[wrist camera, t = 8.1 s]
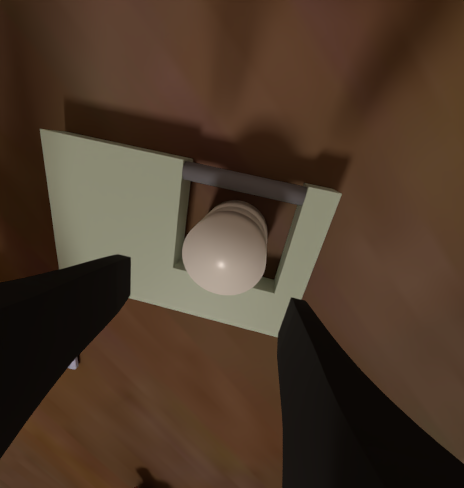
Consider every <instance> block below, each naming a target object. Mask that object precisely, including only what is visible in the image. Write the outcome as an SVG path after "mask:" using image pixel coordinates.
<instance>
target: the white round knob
mask: <svg viewBox="0 0 464 488" xmlns="http://www.w3.org/2000/svg"><path fill="white" fill-rule="evenodd" d="M267 234H268V230H267V224H266V221H265V219H264V217H263V215H262V214H261V212H260V211H259V210H258V209H257V208H256V207H254V206H253V205H251V204H249V203H247V202H244V201H240V200H229V201H225V202H222V203H220V204H218V205H217V206H215V207H214V208H213V209H212V210H211V211H210V212H209V213H208V214H207V215H206V216H205V217H204V218H203V219H202V220H201V221H200V222H199V223H198V224H197V225H196V226H195V227H194V228H193V229H191V231H190V232H189V233H188V234H187V236H186V238H185V240H184V243H183V247H182V259H183V263H184V266H185V269H186V271H187V273H188V274H189V276H190V277H191V278H192V279H193V281H194V282H195V283H197V284H198V285H199V286H200V287H202V288H203V289H205V290H207V291H209V292H212V293H215V294H219V295H237V294H241V293H244V292H246V291H248V290H250V289H251V288H253V287H254V286H255V285H256V284H257V283H258V282H259V281H260V279H261V277H262V276H263V273H264V271H265V267H266V256H267Z"/></svg>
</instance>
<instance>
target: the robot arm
mask: <svg viewBox="0 0 464 488" xmlns="http://www.w3.org/2000/svg"><path fill="white" fill-rule="evenodd" d="M130 294H131V257H128V256H124V255H120V254H116V255H111V256H107V257H103V258H99V259H95V260H92V261H88V262H85V263H81V264H78V265H74V266H70V267H67V268H63V269H59V270H55V271H51V272H47V273H43V274H39V275H35V276H31V277H26V278H22V279H17V280H12V281H7V282H1V283H0V458H1V457H2V455H3V454H4V453H5V451H6V450H7V448H8V447H9V446H10V444H11V443H12V441H13V440H14V438H15V437H16V436H17V434H18V433H19V431H20V430H21V429H22V427H23V426H24V424H25V423H26V421H27V420H28V419H29V417H30V416H31V415H32V413H33V412H34V411H35V409H36V408H37V407H38V405H39V404H40V403H41V401H42V400H43V399H44V397H45V396H46V395H47V393H48V392H49V391H50V389H51V388H52V387H53V386H54V384H55V383H56V382H57V380H58V379H59V378H60V377H61V375H62V374H63V373H64V372H65V370H66V369H67V368H70V369H76V368H77V367H78V358H77V356H78V355H79V354H80V353H81V352H82V351H83V350H84V349H85V348H86V347H87V346H88V345H89V343H90V342H91V341H92V340H93V339H94V338H95V337H96V336H97V335H98V334H99V333H100V332H101V331H102V330H103V329H104V327H105V326H106V325H107V324H108V323H109V322H110V321H111V320H112V319H113V318H114V317H115V315H116V314H117V313H118V312H119V311H120V309H121V308H122V306H123V305H124V304H125V302H126V301H127V299H128V298H129V296H130ZM277 360H278V372H279V384H280V396H281V407H282V422H283V482H282V488H464V464H463V463H462V462H461V461H459V460H458V459H457V458H456V457H455V456H453V455H452V454H451V453H450V452H449V451H447V450H446V449H445V448H444V447H443V446H441V445H440V444H439V443H438V442H437V441H435V440H434V439H433V438H432V437H431V436H430V435H428V434H427V433H426V432H425V431H424V430H423V429H422V428H420V427H419V426H418V425H417V424H416V423H415V422H414V421H413V420H412V419H410V418H409V417H408V416H407V415H406V414H405V413H404V412H403V411H402V410H401V409H400V408H398V407H397V406H396V405H395V404H394V403H393V402H392V401H391V400H390V399H389V398H388V397H387V396H386V395H385V394H384V393H383V392H382V391H381V390H380V389H379V388H378V387H377V386H376V385H375V384H374V383H373V382H372V381H371V380H370V379H369V378H368V377H367V376H366V375H365V374H364V373H363V372H362V371H361V370H360V368H359V367H358V366H357V365H356V364H355V363H354V362H353V361H352V359H351V358H350V357H349V356H348V355H347V354H346V352H345V351H344V350H343V349H342V348H341V347H340V345H339V344H338V343H337V342H336V340H335V339H334V338H333V337H332V335H331V334H330V333H329V331H328V330H327V329H326V327H325V326H324V325H323V323H322V322H321V321H320V319H319V318H318V317H317V315H316V314H315V313H314V311H313V310H312V309H311V307H310V306H309V305H308V303H307V302H306V301H304V300H300V299H296V298H292V297H291V299H290V302H289V305H288V307H287V310H286V313H285V316H284V318H283V321H282V324H281V327H280V330H279V332H278V347H277Z"/></svg>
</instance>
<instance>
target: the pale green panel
mask: <svg viewBox="0 0 464 488" xmlns="http://www.w3.org/2000/svg"><path fill="white" fill-rule="evenodd" d="M40 135H41V142H42V149H43V157H44V164H45V171H46V178H47V186H48V193H49V200H50V207H51V215H52V222H53V229H54V236H55V244H56V251H57V258H58V265H59V269H63V268H67V267H70V266H74V265H78V264H81V263H85V262H88V261H92V260H95V259H99V258H103V257H107V256H111V255H116V254H120V255H124V256H128V257H131V294H130V296H129V298H131V299H135V300H139V301H143V302H146V303H150V304H154V305H158V306H162V307H165V308H169V309H173V310H177V311H180V312H184V313H188V314H192V315H195V316H199V317H203V318H207V319H211V320H214V321H218V322H222V323H226V324H229V325H233V326H237V327H241V328H245V329H248V330H252V331H256V332H260V333H263V334H267V335H271V336H275V337H278V332H279V330H280V327H281V324H282V321H283V318H284V316H285V313H286V310H287V307H288V305H289V302H290V299H291V297H292V298H296V299H300V300H301V299H302V296H303V294H304V291H305V288H306V286H307V283H308V281H309V278H310V275H311V273H312V270H313V268H314V265H315V262H316V260H317V257H318V255H319V252H320V249H321V247H322V244H323V242H324V239H325V236H326V234H327V231H328V229H329V226H330V223H331V221H332V218H333V216H334V213H335V210H336V208H337V205H338V203H339V200H340V197H341V195H342V194H341V193H339V192H338V191H336V190H334V189H331V188H326V187H322V186H317V185H312V184H308V183H304V185H303V186H300V185H295V184H291V183H286V182H281V181H277V180H272V179H267V178H263V177H258V176H254V175H249V174H244V173H240V172H235V171H230V170H226V169H221V168H216V167H212V166H207V165H203V164H198V163H193V159H191V158H187V157H182V156H177V155H173V154H168V153H163V152H159V151H154V150H149V149H145V148H140V147H135V146H131V145H126V144H121V143H117V142H112V141H107V140H103V139H98V138H94V137H89V136H84V135H80V134H75V133H70V132H66V131H57V130H47V129H40ZM191 181H193V182H198V183H202V184H207V185H211V186H216V187H220V188H225V189H229V190H234V191H238V192H243V193H247V194H252V195H256V196H261V197H265V198H270V199H274V200H279V201H283V202H288V203H292V204H297V208H296V211H295V214H294V218H293V221H292V224H291V227H290V230H289V234H288V237H287V240H286V243H285V246H284V250H283V253H282V256H281V259H280V262H279V266H278V269H277V272H276V275H275V279H274V280H273V279H269V278H265V277H261V279H260V281H259V282H258V283H257V284H256V285H255V286H254V287H253V288H251V289H250V290H248V291H246V292H244V293H241V294H237V295H219V294H215V293H212V292H209V291H207V290H205V289H203V288H202V287H200V286H199V285H198V284H197V283H195V282H194V281H193V279H192V278H191V277H190V276H189V274H188V273H187V271H186V269H185V266H184V263H183V259H182V247H183V243H184V236H185V227H186V219H187V210H188V201H189V192H190V183H191Z"/></svg>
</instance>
